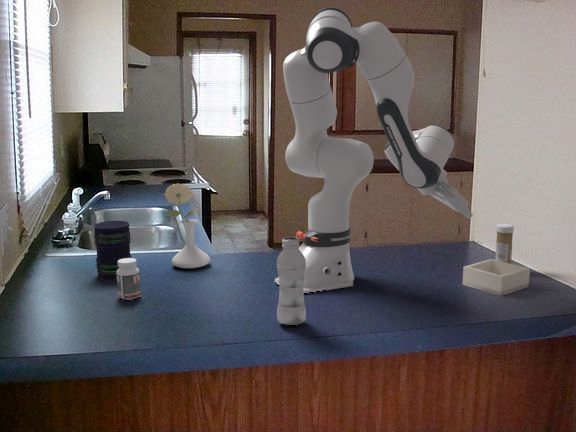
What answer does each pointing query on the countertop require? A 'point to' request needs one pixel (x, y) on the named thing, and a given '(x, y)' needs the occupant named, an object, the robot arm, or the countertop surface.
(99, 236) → the storage jar
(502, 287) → the box
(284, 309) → the plastic bottle
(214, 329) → the countertop surface
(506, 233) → the sprinkles bottle
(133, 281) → the pill bottle
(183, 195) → the flower in vase
